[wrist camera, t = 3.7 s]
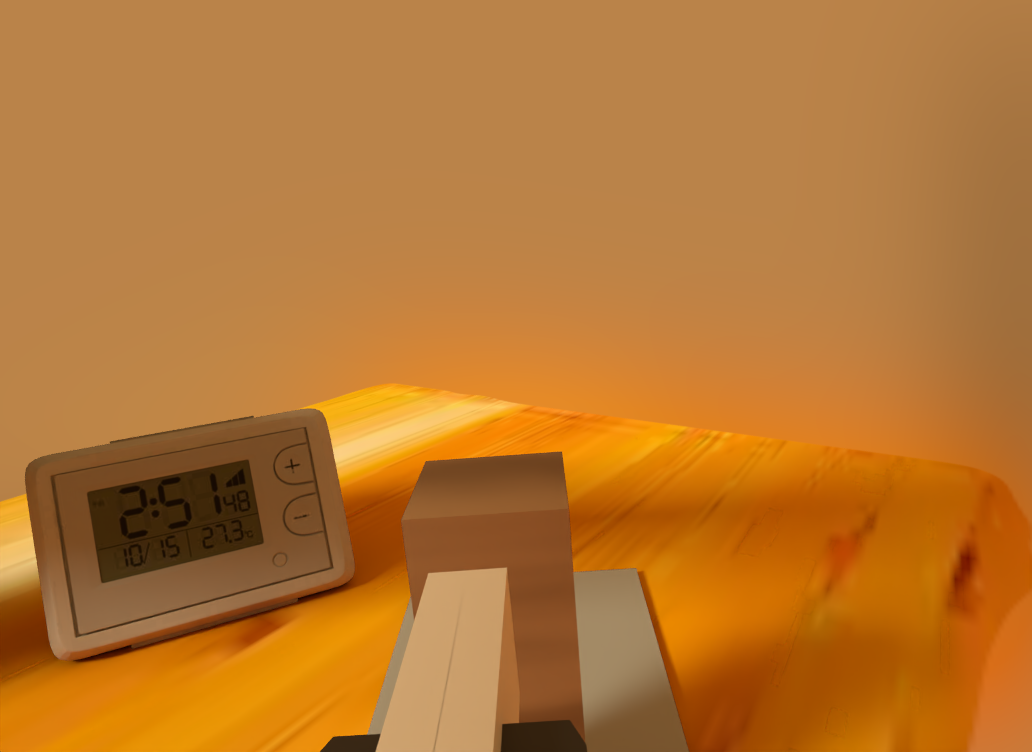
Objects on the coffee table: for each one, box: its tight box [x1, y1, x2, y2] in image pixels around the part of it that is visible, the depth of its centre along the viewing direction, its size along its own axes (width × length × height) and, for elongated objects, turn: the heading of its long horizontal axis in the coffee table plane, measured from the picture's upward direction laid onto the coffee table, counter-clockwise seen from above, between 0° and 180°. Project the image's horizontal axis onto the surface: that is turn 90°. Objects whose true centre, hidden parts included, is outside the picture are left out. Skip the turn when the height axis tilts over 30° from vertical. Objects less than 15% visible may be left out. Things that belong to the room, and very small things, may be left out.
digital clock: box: [25, 409, 355, 661], centre depth 41 cm, size 16×9×11 cm, turn 103°
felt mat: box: [367, 568, 689, 752], centre depth 30 cm, size 22×13×1 cm, turn 179°
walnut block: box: [401, 452, 585, 742], centre depth 22 cm, size 4×4×13 cm
